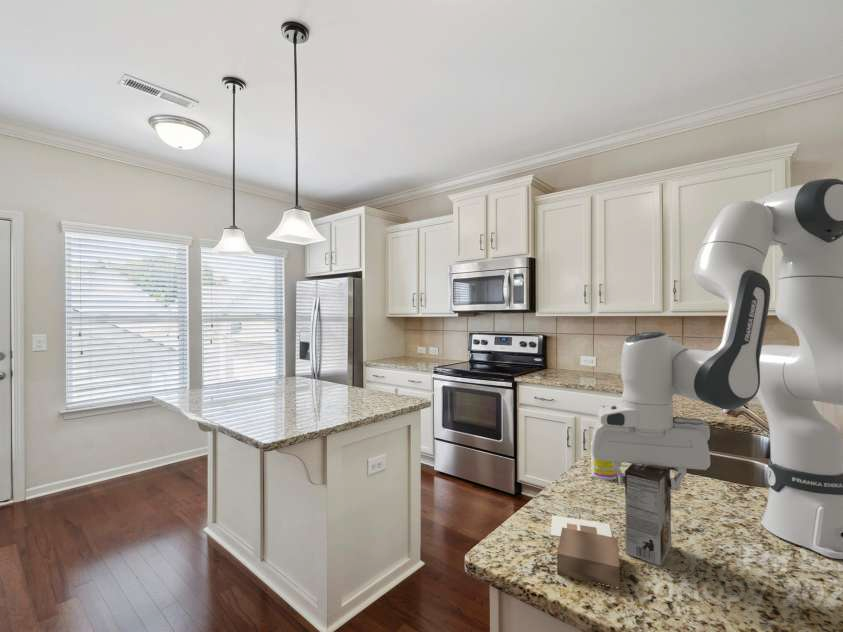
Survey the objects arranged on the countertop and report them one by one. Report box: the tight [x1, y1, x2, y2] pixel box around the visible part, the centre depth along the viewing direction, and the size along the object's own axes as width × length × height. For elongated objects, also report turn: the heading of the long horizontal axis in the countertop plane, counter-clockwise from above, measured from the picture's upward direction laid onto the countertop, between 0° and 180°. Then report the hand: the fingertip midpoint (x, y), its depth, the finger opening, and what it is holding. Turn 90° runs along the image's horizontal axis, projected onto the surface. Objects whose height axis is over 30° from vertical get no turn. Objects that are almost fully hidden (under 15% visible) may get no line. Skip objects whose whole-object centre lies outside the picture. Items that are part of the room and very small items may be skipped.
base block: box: [556, 527, 621, 588], centre depth 75 cm, size 10×10×4 cm
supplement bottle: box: [590, 440, 618, 481], centre depth 118 cm, size 7×7×13 cm
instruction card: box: [550, 515, 613, 538], centre depth 88 cm, size 12×9×1 cm
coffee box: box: [624, 463, 672, 567], centre depth 80 cm, size 9×6×16 cm
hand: (648, 486), depth 80 cm, fingers open, 7 cm apart
